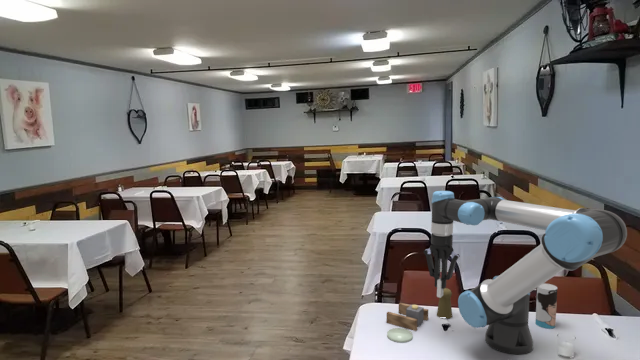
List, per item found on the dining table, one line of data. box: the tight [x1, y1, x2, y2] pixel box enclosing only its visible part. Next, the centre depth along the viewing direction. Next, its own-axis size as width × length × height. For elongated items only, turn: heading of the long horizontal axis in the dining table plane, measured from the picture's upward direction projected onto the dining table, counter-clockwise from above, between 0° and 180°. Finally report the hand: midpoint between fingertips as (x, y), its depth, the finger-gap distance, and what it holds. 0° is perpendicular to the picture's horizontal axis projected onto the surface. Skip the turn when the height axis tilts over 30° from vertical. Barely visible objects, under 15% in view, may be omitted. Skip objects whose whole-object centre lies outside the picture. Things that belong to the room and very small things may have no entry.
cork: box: [436, 287, 453, 320], centre depth 169 cm, size 6×6×11 cm
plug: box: [405, 304, 425, 328], centre depth 163 cm, size 5×5×7 cm
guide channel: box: [386, 302, 429, 332], centre depth 165 cm, size 12×12×4 cm
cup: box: [534, 282, 558, 330], centre depth 160 cm, size 7×7×15 cm
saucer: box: [386, 327, 414, 344], centre depth 153 cm, size 9×9×1 cm
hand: (440, 296), depth 157 cm, fingers closed
